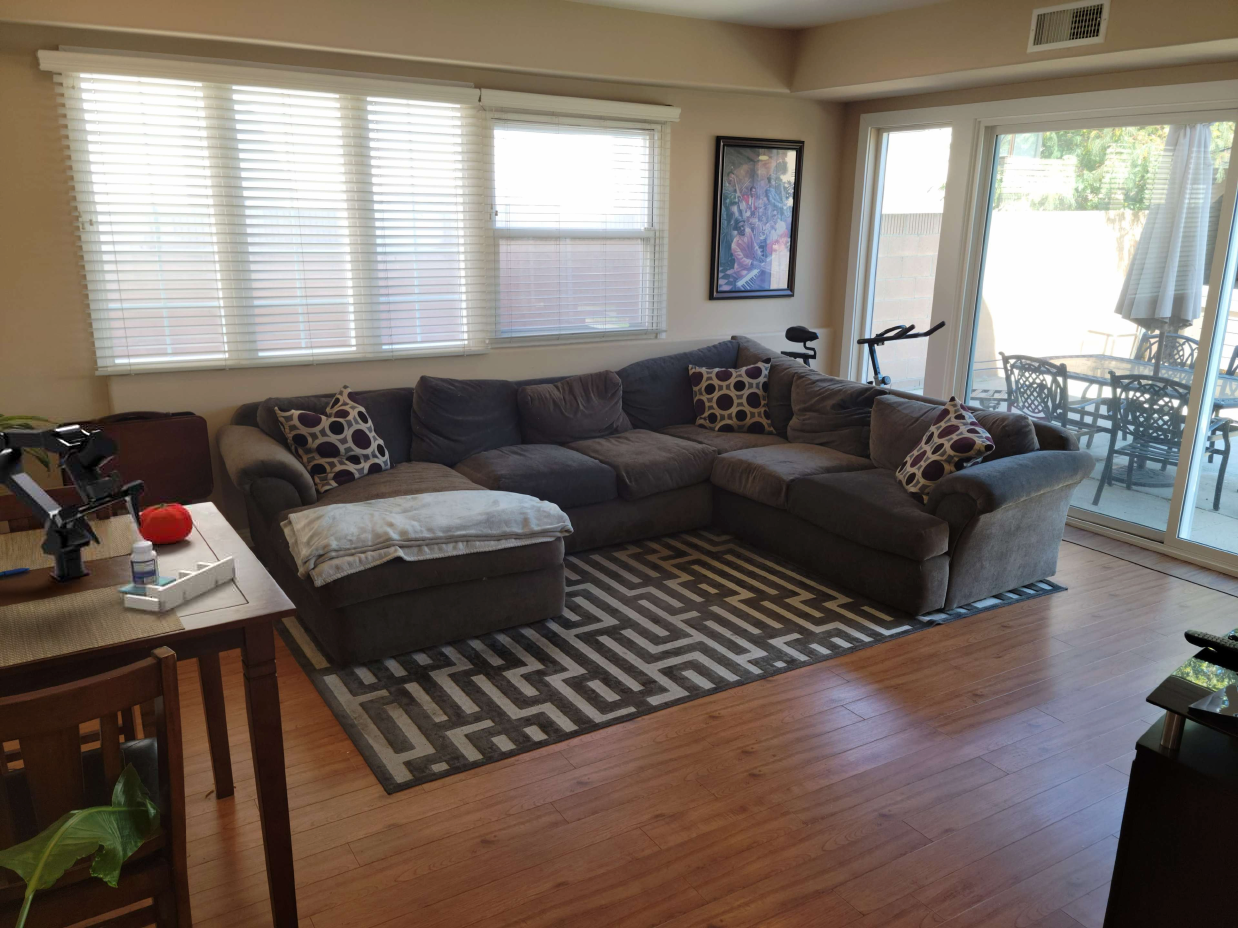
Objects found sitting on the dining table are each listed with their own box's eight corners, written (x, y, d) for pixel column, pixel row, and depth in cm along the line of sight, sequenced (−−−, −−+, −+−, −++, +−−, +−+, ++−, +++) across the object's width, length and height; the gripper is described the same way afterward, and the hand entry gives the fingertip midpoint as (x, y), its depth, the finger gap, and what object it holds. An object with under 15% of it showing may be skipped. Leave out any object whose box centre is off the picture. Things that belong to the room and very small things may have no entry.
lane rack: (125, 606, 195) (122, 585, 194) (200, 571, 217) (199, 552, 216) (162, 612, 193) (160, 590, 192) (235, 576, 214) (233, 556, 213)
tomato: (190, 532, 247) (186, 495, 244) (198, 544, 237) (194, 506, 234) (135, 540, 239) (131, 502, 237) (141, 553, 229) (137, 513, 227)
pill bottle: (139, 579, 210) (135, 540, 208) (163, 579, 210) (159, 539, 208) (129, 588, 205) (124, 547, 202) (153, 587, 205) (149, 547, 203)
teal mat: (118, 591, 204) (117, 589, 204) (151, 576, 213) (151, 574, 213) (143, 595, 202) (143, 593, 202) (176, 580, 211) (175, 578, 211)
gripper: (46, 480, 192) (82, 544, 193) (134, 450, 205) (167, 509, 205) (41, 495, 201) (75, 556, 201) (125, 465, 213) (157, 522, 213)
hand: (120, 535), depth 205 cm, fingers open, 9 cm apart
